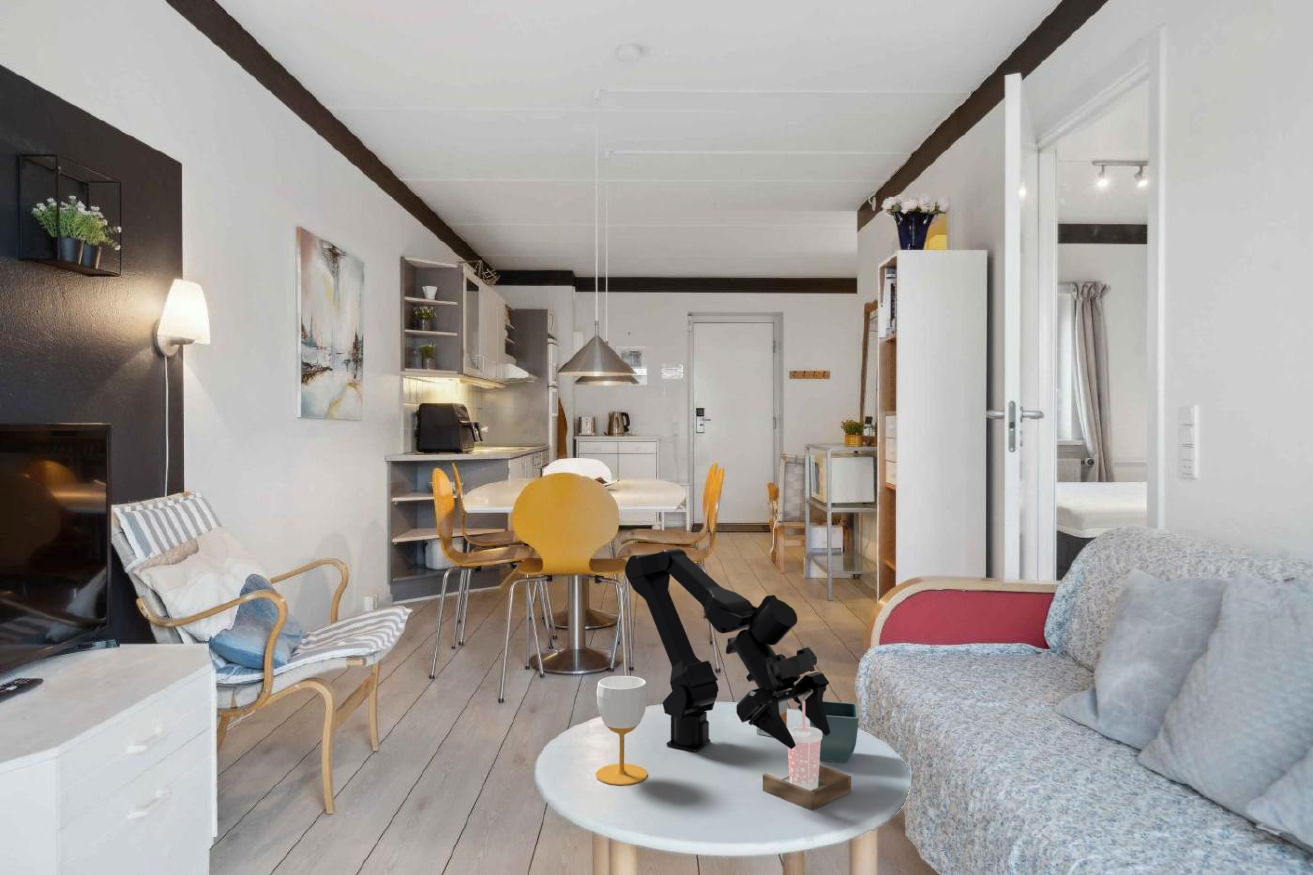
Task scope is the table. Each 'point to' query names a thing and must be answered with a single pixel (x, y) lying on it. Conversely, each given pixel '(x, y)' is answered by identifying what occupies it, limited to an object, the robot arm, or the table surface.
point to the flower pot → (839, 731)
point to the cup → (622, 722)
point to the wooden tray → (827, 791)
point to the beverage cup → (804, 755)
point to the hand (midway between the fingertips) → (811, 740)
